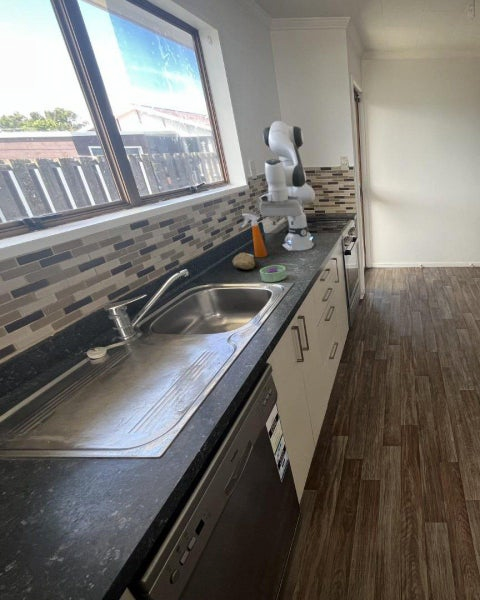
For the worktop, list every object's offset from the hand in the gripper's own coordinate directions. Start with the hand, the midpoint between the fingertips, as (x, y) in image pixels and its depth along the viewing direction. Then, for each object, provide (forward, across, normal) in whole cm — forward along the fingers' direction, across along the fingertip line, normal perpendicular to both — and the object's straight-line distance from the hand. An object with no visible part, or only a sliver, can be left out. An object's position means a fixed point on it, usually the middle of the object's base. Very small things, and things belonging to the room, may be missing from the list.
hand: (284, 224), depth 164 cm
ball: (+22, +7, +9) cm, 25 cm away
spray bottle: (+26, +30, -28) cm, 49 cm away
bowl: (+25, +6, +9) cm, 28 cm away
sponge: (+26, +29, -9) cm, 40 cm away
